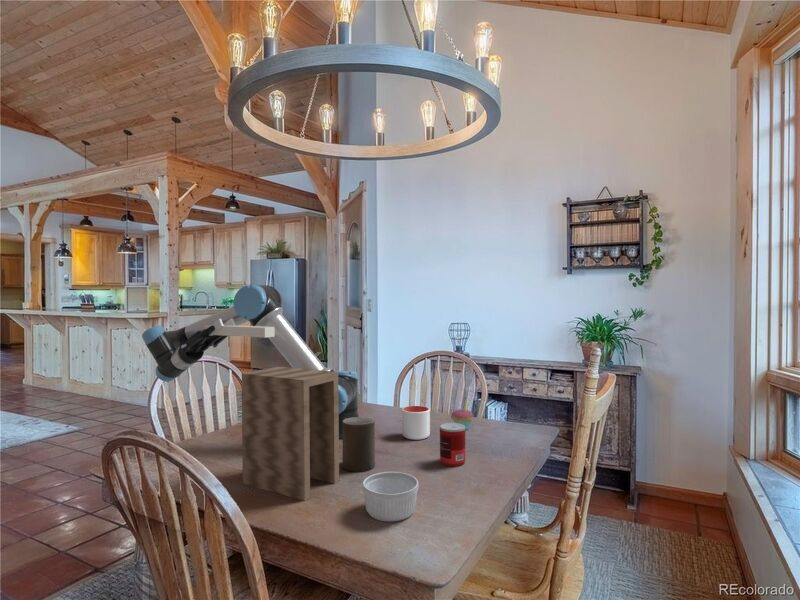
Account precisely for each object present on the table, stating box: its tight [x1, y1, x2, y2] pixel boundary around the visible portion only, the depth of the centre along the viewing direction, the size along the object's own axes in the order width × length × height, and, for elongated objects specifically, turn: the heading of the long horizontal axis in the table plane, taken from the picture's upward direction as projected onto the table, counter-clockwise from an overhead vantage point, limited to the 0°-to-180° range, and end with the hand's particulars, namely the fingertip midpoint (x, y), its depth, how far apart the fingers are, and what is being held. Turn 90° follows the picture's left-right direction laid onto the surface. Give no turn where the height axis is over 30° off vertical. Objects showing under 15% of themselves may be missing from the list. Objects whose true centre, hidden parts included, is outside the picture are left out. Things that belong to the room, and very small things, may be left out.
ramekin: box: [362, 471, 419, 523], centre depth 110 cm, size 13×13×7 cm
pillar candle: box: [342, 415, 376, 473], centre depth 139 cm, size 10×10×15 cm
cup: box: [401, 405, 431, 441], centre depth 168 cm, size 10×10×10 cm
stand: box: [241, 366, 340, 501], centre depth 127 cm, size 22×14×30 cm, turn 60°
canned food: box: [439, 422, 466, 467], centre depth 142 cm, size 8×8×11 cm
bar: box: [204, 325, 275, 339], centre depth 149 cm, size 28×4×3 cm, turn 60°
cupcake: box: [450, 397, 475, 431], centre depth 178 cm, size 9×8×12 cm
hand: (227, 322), depth 152 cm, fingers closed on bar, 4 cm apart
